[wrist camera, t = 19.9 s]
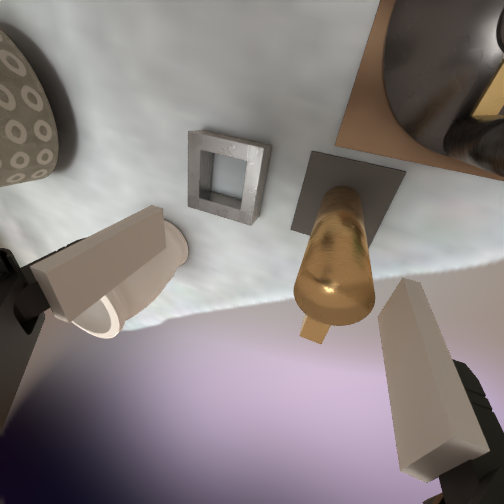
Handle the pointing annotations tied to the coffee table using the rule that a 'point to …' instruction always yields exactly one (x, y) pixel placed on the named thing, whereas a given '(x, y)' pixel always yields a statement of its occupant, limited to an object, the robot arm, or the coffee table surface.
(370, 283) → the hook peg
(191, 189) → the eye block
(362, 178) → the pad
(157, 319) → the coffee table surface
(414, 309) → the robot arm
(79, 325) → the jar
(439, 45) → the handwheel
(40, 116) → the planter
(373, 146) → the wheel base
